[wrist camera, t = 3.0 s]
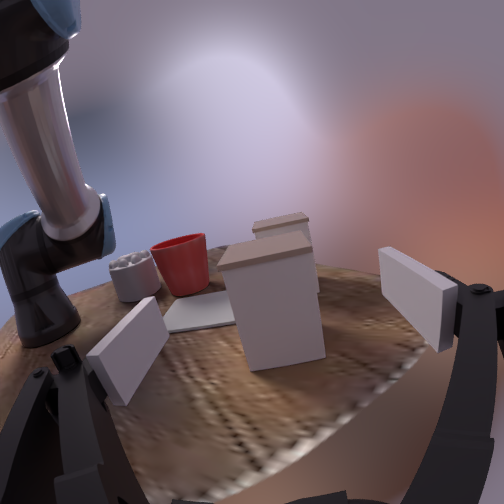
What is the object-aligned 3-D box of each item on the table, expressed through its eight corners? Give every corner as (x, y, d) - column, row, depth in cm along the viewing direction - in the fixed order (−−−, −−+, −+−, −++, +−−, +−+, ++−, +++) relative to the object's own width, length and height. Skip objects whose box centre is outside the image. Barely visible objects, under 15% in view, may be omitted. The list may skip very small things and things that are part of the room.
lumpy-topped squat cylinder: (156, 279, 66) (146, 246, 64) (165, 291, 55) (153, 251, 53) (118, 292, 62) (107, 259, 60) (119, 307, 50) (105, 267, 49)
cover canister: (247, 373, 24) (216, 265, 21) (252, 333, 31) (229, 245, 29) (328, 358, 23) (311, 245, 21) (316, 321, 30) (300, 230, 28)
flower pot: (228, 280, 52) (215, 230, 50) (179, 304, 46) (162, 249, 43) (199, 276, 60) (187, 233, 58) (156, 295, 53) (141, 249, 51)
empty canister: (269, 303, 38) (252, 229, 36) (268, 284, 45) (254, 221, 43) (321, 292, 37) (308, 217, 35) (313, 275, 44) (301, 212, 42)
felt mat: (152, 334, 36) (151, 332, 35) (177, 301, 47) (176, 299, 47) (235, 323, 34) (234, 320, 34) (243, 289, 46) (242, 287, 46)
